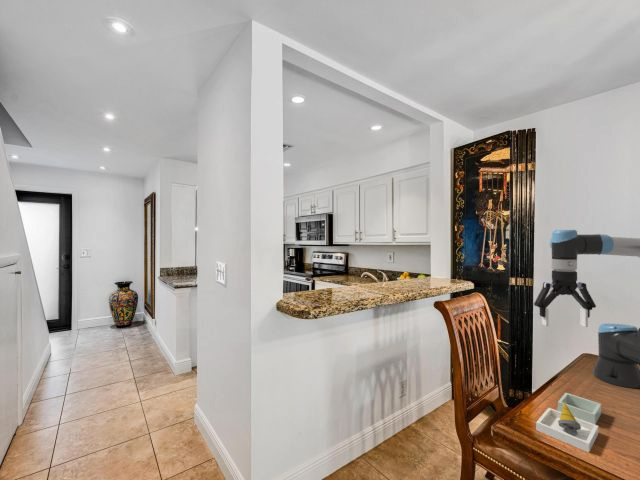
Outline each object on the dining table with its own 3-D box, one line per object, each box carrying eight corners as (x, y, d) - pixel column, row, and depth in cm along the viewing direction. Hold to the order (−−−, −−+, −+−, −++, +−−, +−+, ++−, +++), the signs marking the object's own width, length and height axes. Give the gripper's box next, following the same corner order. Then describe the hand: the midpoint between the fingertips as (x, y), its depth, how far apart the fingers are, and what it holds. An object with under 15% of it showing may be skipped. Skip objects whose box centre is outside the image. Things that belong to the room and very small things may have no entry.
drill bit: (556, 434, 92) (549, 400, 98) (571, 441, 92) (564, 406, 98) (571, 432, 88) (564, 397, 94) (588, 439, 88) (579, 404, 94)
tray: (548, 414, 102) (548, 407, 102) (598, 433, 92) (598, 425, 92) (536, 430, 94) (536, 422, 94) (589, 452, 84) (589, 443, 84)
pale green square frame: (565, 401, 109) (565, 392, 109) (601, 414, 102) (601, 403, 102) (557, 411, 103) (557, 401, 103) (595, 425, 96) (594, 414, 96)
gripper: (534, 271, 111) (535, 327, 112) (608, 271, 108) (608, 329, 108) (523, 269, 119) (523, 322, 119) (592, 269, 116) (592, 323, 116)
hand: (564, 325), depth 114 cm, fingers open, 13 cm apart
